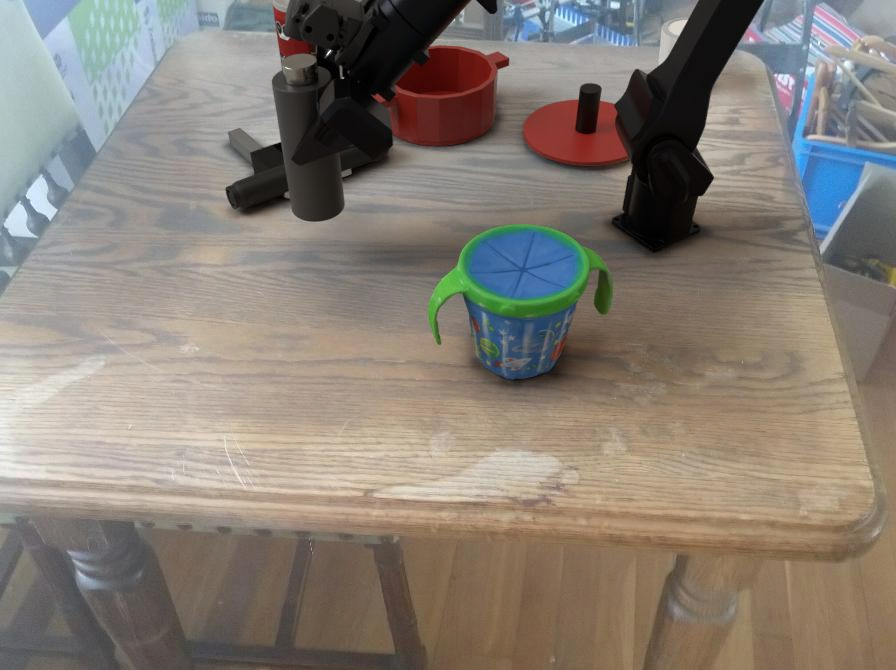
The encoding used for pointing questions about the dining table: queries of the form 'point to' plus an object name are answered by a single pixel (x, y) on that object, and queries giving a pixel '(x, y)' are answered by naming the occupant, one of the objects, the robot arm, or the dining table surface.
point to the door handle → (272, 170)
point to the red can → (285, 42)
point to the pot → (446, 97)
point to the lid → (576, 130)
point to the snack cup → (521, 295)
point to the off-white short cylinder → (670, 36)
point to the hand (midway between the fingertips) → (295, 146)
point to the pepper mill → (295, 103)
